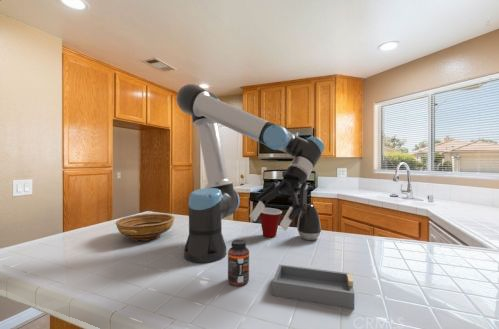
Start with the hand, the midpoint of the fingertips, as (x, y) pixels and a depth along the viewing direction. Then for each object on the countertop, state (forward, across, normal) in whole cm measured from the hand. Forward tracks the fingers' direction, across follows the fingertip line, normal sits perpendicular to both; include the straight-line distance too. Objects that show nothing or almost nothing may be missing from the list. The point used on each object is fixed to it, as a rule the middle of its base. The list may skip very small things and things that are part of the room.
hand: (266, 223), depth 73 cm
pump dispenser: (-15, +11, -36) cm, 41 cm away
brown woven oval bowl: (+24, +59, +2) cm, 63 cm away
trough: (+9, -16, -12) cm, 22 cm away
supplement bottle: (+18, 0, -3) cm, 18 cm away
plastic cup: (-7, +24, -28) cm, 38 cm away
